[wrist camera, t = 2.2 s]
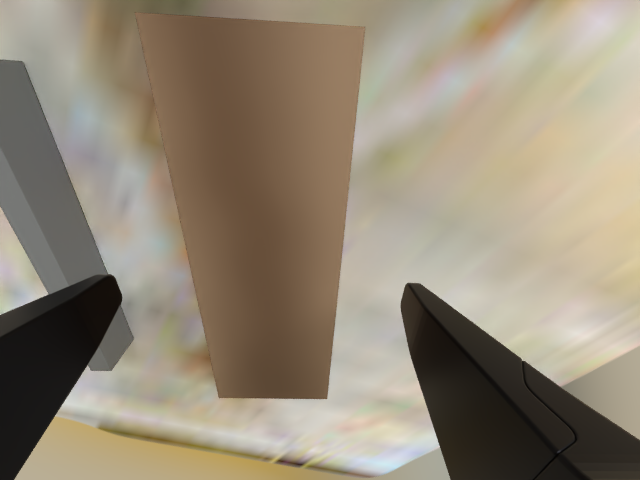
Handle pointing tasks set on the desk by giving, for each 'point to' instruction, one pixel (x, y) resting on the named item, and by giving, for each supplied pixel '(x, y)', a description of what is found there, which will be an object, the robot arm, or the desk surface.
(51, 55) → the desk surface
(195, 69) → the block
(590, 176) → the desk surface
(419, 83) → the desk surface
